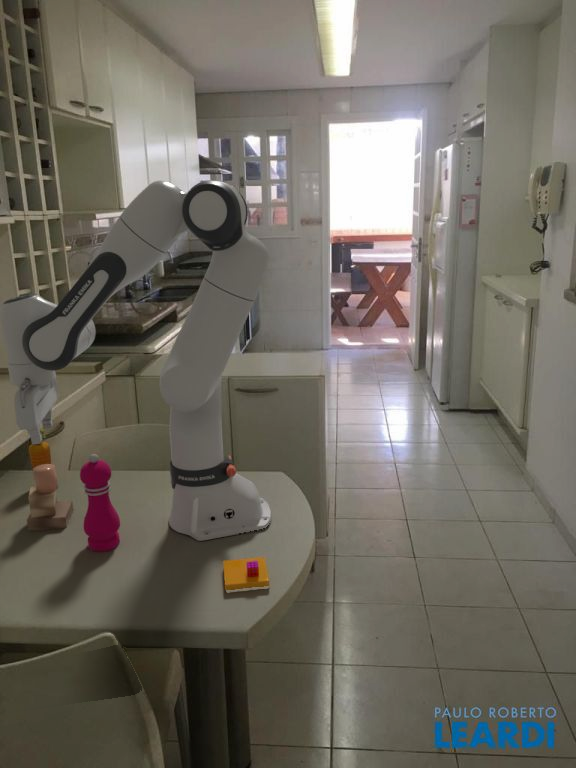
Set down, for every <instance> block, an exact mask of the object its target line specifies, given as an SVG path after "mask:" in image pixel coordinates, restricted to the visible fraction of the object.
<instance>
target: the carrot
mask: <svg viewBox="0 0 576 768" xmlns="http://www.w3.org/2000/svg"><path fill="white" fill-rule="evenodd" d="M39 431H40V433H41V434H42V441H41V443H40V444H32V443H31V444H30V445H29V446H28V455H29V459H30V464H31V468H32V470H33V469H34V468H35V467H37V466H39V465H43V464H52V457H51V448H50V445H49V444H48V442H46V441H44V440H45V439H46V436H43V435H44V433H45V430H44V429H42V428H41V429H39Z"/></svg>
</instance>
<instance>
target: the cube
mask: <svg viewBox="0 0 576 768" xmlns="http://www.w3.org/2000/svg"><path fill="white" fill-rule="evenodd" d="M27 498H28V504H29V511H30V513H31V518H36V517H43V516H50V515H56V511H57V505H58V504H57V501H58V499H57V498H58V497H57V490H56V491H54V492H51V493H48V494H39V493H37V492H36V487H35V486H31V487H30V489H29V493H28V497H27Z"/></svg>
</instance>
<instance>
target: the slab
mask: <svg viewBox="0 0 576 768" xmlns="http://www.w3.org/2000/svg"><path fill="white" fill-rule="evenodd" d="M57 504H58V505H57V511H56V515H50V516H43V517H36V518H31V512H30V513H29V516H27V519H26V522H27V530H28V531H40V530H52V529H53V530H54V529H66V528H67V527H68V525H69V523H70V520H71V518H72V515H73V513H74V511H75V509H74V503H73V499H71V500H70V499H69V500H61V501H60V500H59V501H58V500H57Z"/></svg>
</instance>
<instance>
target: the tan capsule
mask: <svg viewBox="0 0 576 768" xmlns="http://www.w3.org/2000/svg"><path fill="white" fill-rule="evenodd" d="M32 476H33V480H34V485H35V486H34V487H36V492H37V493H39V494H48V493H51V492H54V491H56V492H57V490H58V489H59V482H58V476H57V469H56V465H55V464H54V463H53V464H52V463H51V464H43V465H39V466H37V467H35V468H34V469H33V468H32Z"/></svg>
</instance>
